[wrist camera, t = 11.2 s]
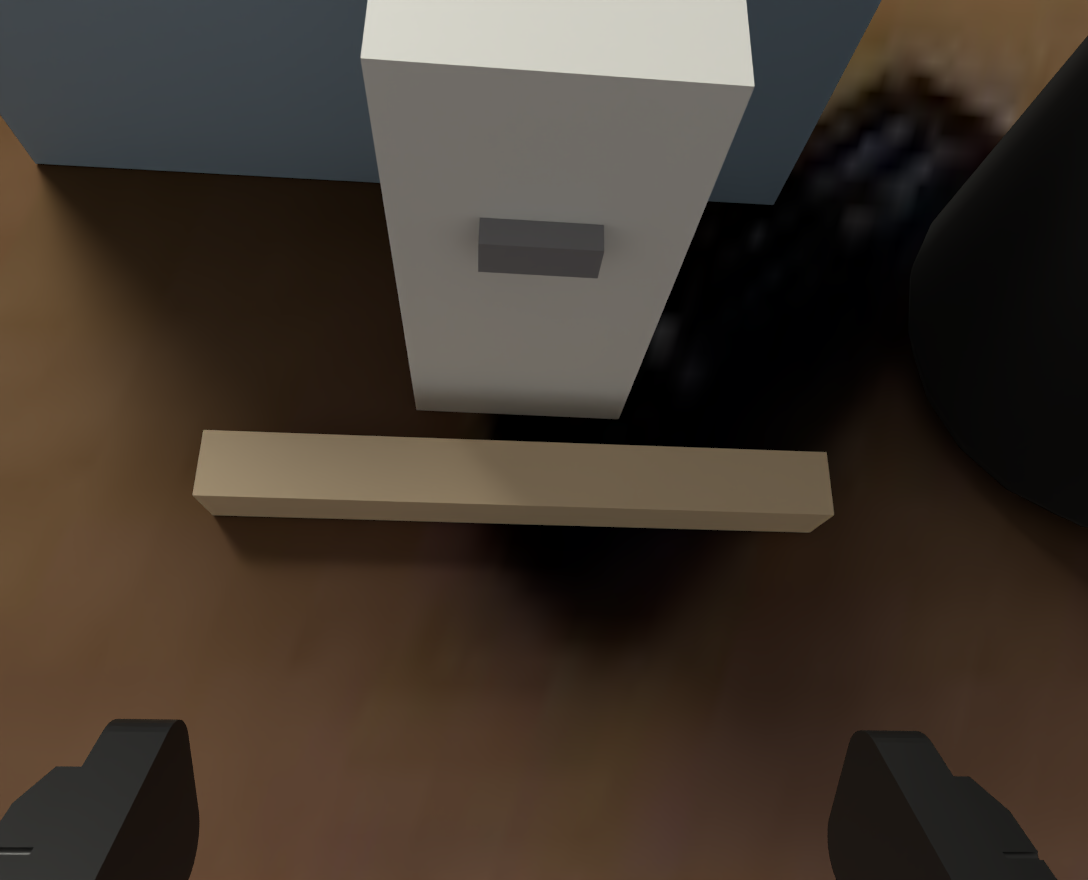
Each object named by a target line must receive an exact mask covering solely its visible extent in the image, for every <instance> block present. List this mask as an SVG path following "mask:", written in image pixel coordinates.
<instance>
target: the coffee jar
mask: <svg viewBox="0 0 1088 880" xmlns="http://www.w3.org/2000/svg"><path fill="white" fill-rule="evenodd" d="M908 335H909V338H910V341H911V349H912V352H913V355H914V359H915V362H916V365H917V368H918V371H919V374H920V378H921V381H922V384H923V387H924V390H925V393H926V397H927V399H928V401H929V402H930V404H931V405H932V407H933V408H934V410H935V411H936V413H937V414H938V416H939V417H940V419H941V420H942V422H943V423H944V425H945V426H946V428H947V429H948V431H949V432H950V434H951V435H952V437H953V438H954V440H955V441H956V443H957V444H958V446H959V447H960V448H961V449H962V450H963V451H964V452H965V453H966V454H967V455H969V456H970V457H971V458H972V459H973V460H974V461H975V462H976V463H978V464H979V465H980V466H981V467H982V468H983V469H984V470H985V471H987V472H988V473H989V474H990V475H991V476H992V477H993V478H995V479H996V480H997V481H998V482H999V483H1000V484H1001V485H1002V486H1004V487H1005V488H1006V489H1007V490H1009V491H1011V492H1013V493H1015V494H1017V495H1019V496H1021V497H1023V498H1025V499H1027V500H1029V501H1031V502H1033V503H1035V504H1037V505H1039V506H1041V507H1043V508H1044V509H1046V510H1048V511H1050V512H1052V513H1054V514H1056V515H1058V516H1060V517H1062V518H1066V519H1068V520H1070V521H1072V522H1074V523H1076V524H1078V525H1080V526H1083V527H1088V36H1087V37H1086V38H1085V40H1084V41H1083V42H1082V43H1081V44H1080V46H1079V47H1078V48H1077V49H1076V50H1075V52H1074V53H1073V54H1072V55H1071V56H1070V58H1069V59H1068V60H1067V61H1066V62H1065V64H1064V65H1063V66H1062V67H1061V68H1060V70H1059V71H1058V72H1057V73H1056V74H1055V76H1054V77H1053V78H1052V79H1051V80H1050V82H1049V83H1048V84H1047V85H1046V87H1045V88H1044V89H1043V90H1042V91H1041V93H1040V94H1039V95H1038V96H1037V97H1036V99H1035V100H1034V101H1033V102H1032V103H1031V105H1030V106H1029V107H1028V108H1027V109H1026V111H1025V112H1024V113H1023V114H1022V115H1021V117H1020V118H1019V119H1018V120H1017V121H1016V123H1015V124H1014V125H1013V126H1012V127H1011V129H1010V130H1009V131H1008V132H1007V133H1006V135H1005V136H1004V137H1003V138H1002V139H1001V141H1000V142H999V143H998V144H997V145H996V147H995V148H994V149H993V150H992V151H991V153H990V154H989V155H988V156H987V157H986V159H985V160H984V161H983V162H982V163H981V165H980V166H979V167H978V168H977V169H976V171H975V172H974V173H973V174H972V175H971V177H970V178H969V179H968V180H967V181H966V183H965V184H964V185H963V186H962V187H961V189H960V190H959V191H958V192H957V193H956V195H955V196H954V197H953V198H952V199H951V201H950V202H949V203H948V204H947V205H946V207H945V208H944V209H943V210H942V211H941V213H940V214H939V215H938V216H937V217H936V219H935V220H934V221H933V222H932V224H931V226H930V228H929V230H928V233H927V235H926V237H925V239H924V242H923V244H922V246H921V248H920V251H919V253H918V255H917V257H916V260H915V262H914V264H913V266H912V269H911V275H910V287H909V321H908Z"/></svg>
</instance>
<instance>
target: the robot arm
mask: <svg viewBox="0 0 1088 880" xmlns="http://www.w3.org/2000/svg"><path fill="white" fill-rule="evenodd" d="M198 837H199V810H198V803H197V795H196V788H195V780H194V773H193V766H192V758H191V751H190V743H189V736H188V730H187V727H186V725H185V723H184V722H183V721H182V720H159V719H115V720H113V721H111V722H110V723H109V724H108V725H107V726H106V727H105V729H104V730H103V732H102V734H101V735H100V737H99V739H98V740H97V742H96V744H95V745H94V747H93V749H92V750H91V752H90V754H89V755H88V757H87V759H86V760H85V762H84V764H83V765H82V767H55V768H54V769H53V770H51V771H50V772H49V773H48V774H47V775H45V776H44V777H43V778H42V779H41V780H40V781H38V782H37V783H36V784H35V785H34V786H32V787H31V788H30V789H29V790H28V791H26V792H25V793H24V794H23V795H22V796H21V797H19V798H18V799H17V800H16V801H15V802H13V803H12V805H11V806H10V808H9V809H8V811H7V812H6V814H5V815H4V817H3V818H2V820H1V821H0V880H188V879H189V877H190V874H191V871H192V867H193V864H194V860H195V856H196V851H197V845H198ZM828 849H829V856H830V861H831V865H832V869H833V872H834V875H835V878H836V880H1057V879H1056V878H1055V876H1054V875H1053V873H1052V872H1051V870H1050V869H1049V867H1048V866H1047V865H1046V863H1045V862H1044V860H1039V858H1038V851H1037V850H1036V849H1035V847H1034V846H1033V844H1032V843H1031V841H1030V840H1029V838H1028V837H1027V836H1026V834H1025V833H1024V831H1023V830H1022V828H1021V827H1020V825H1019V824H1018V823H1017V821H1016V820H1015V818H1014V817H1013V815H1012V814H1011V812H1010V811H1009V810H1008V809H1006V808H1005V807H1004V806H1003V805H1002V804H1001V803H999V802H998V801H997V800H996V799H995V798H994V797H992V796H991V795H990V794H989V793H988V792H987V791H985V790H984V789H983V788H982V787H981V786H980V785H978V784H977V783H976V782H975V781H974V780H973V779H971V778H970V777H957V776H953V775H952V773H951V772H950V770H949V769H948V767H947V766H946V764H945V762H944V761H943V759H942V758H941V756H940V755H939V753H938V752H937V750H936V749H935V747H934V745H933V744H932V742H931V741H930V740H929V738H928V737H927V736H926V735H925V734H923V733H921V732H919V731H872V730H860V731H857V732H855V733H854V734H853V736H852V738H851V740H850V743H849V746H848V750H847V753H846V757H845V761H844V765H843V768H842V772H841V776H840V780H839V783H838V787H837V791H836V795H835V798H834V802H833V806H832V810H831V813H830V817H829V822H828Z"/></svg>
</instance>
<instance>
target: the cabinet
mask: <svg viewBox="0 0 1088 880" xmlns="http://www.w3.org/2000/svg"><path fill="white" fill-rule="evenodd" d="M360 59H361V65H362V71H363V78H364V84H365V90H366V96H367V103H368V109H369V115H370V122H371V128H372V134H373V140H374V147H375V153H376V159H377V166H378V172H379V178H380V184H381V191H382V197H383V203H384V210H385V216H386V222H387V228H388V235H389V241H390V247H391V254H392V260H393V266H394V272H395V279H396V285H397V291H398V298H399V304H400V310H401V316H402V323H403V329H404V335H405V342H406V348H407V354H408V360H409V367H410V373H411V379H412V386H413V392H414V398H415V405H416V410H425V411H447V412H469V413H491V414H514V415H536V416H558V417H580V418H602V419H619V417H620V414H621V412H622V410H623V407H624V405H625V402H626V400H627V397H628V395H629V392H630V390H631V388H632V385H633V383H634V380H635V378H636V375H637V373H638V370H639V368H640V366H641V363H642V361H643V358H644V356H645V353H646V351H647V348H648V346H649V344H650V341H651V339H652V336H653V334H654V331H655V329H656V326H657V324H658V322H659V319H660V317H661V314H662V312H663V309H664V307H665V304H666V302H667V300H668V297H669V295H670V292H671V290H672V287H673V285H674V282H675V280H676V278H677V275H678V273H679V270H680V268H681V265H682V263H683V260H684V258H685V256H686V253H687V251H688V248H689V246H690V243H691V241H692V238H693V236H694V234H695V231H696V229H697V226H698V224H699V221H700V219H701V216H702V214H703V212H704V209H705V207H706V204H707V202H708V199H709V197H710V194H711V192H712V190H713V187H714V185H715V182H716V180H717V177H718V175H719V172H720V170H721V168H722V165H723V163H724V160H725V158H726V155H727V153H728V150H729V148H730V145H731V143H732V141H733V138H734V136H735V133H736V131H737V128H738V126H739V123H740V121H741V119H742V116H743V114H744V111H745V109H746V106H747V104H748V101H749V99H750V97H751V94H752V92H753V89H754V87H755V85H754V75H753V65H752V54H751V44H750V34H749V24H748V13H747V3H746V0H368V2H367V10H366V18H365V26H364V34H363V42H362V49H361V57H360Z"/></svg>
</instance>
